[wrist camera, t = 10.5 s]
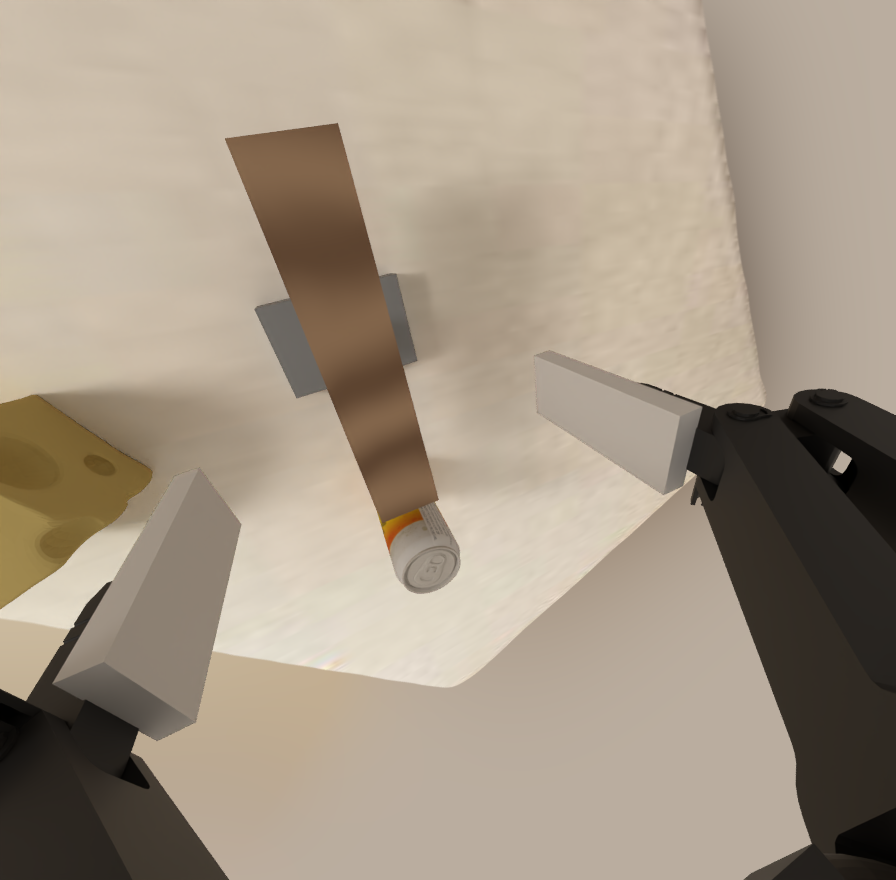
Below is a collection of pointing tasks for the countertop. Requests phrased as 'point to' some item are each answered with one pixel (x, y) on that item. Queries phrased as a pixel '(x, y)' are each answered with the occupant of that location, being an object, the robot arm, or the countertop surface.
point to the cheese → (54, 491)
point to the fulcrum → (296, 349)
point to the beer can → (422, 549)
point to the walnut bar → (339, 302)
